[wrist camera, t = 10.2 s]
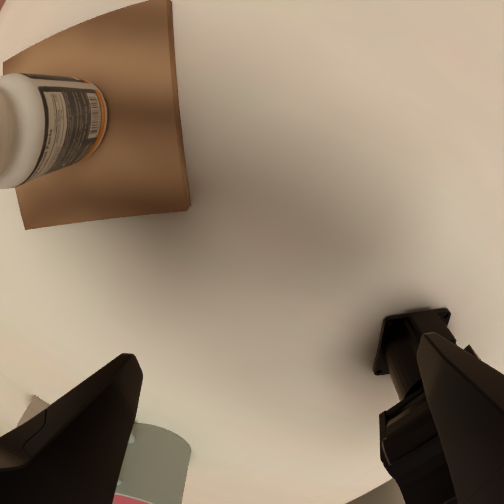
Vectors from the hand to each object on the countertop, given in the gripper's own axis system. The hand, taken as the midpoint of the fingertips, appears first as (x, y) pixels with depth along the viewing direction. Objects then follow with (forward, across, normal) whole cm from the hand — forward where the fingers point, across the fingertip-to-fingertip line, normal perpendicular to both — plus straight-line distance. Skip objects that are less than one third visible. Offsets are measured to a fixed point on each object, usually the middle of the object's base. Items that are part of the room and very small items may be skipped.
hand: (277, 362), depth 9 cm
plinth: (+12, +12, -9) cm, 19 cm away
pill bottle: (+11, +12, -9) cm, 19 cm away
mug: (+13, +17, +25) cm, 33 cm away
